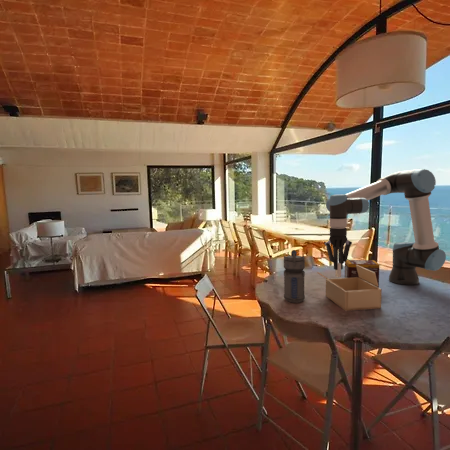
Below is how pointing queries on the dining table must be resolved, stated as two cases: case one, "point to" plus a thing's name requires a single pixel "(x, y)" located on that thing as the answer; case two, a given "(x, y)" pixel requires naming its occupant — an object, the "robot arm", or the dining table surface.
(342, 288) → the flap
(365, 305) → the carton
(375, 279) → the flap
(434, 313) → the dining table surface
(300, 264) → the beverage bottle
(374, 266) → the supplement box
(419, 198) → the robot arm
